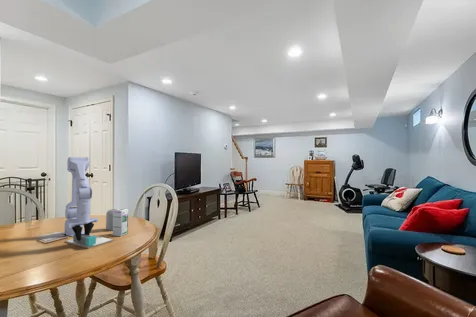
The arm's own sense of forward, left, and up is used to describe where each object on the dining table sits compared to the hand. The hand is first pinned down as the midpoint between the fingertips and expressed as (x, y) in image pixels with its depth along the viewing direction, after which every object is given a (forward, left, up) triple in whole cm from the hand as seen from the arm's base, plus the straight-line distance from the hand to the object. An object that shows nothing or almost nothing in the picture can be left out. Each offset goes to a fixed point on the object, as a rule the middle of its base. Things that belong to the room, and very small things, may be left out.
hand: (82, 239), depth 124 cm
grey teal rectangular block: (+1, 0, -2) cm, 2 cm away
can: (-12, +26, -3) cm, 29 cm away
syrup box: (+1, +21, -3) cm, 21 cm away
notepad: (-2, +5, -3) cm, 6 cm away
